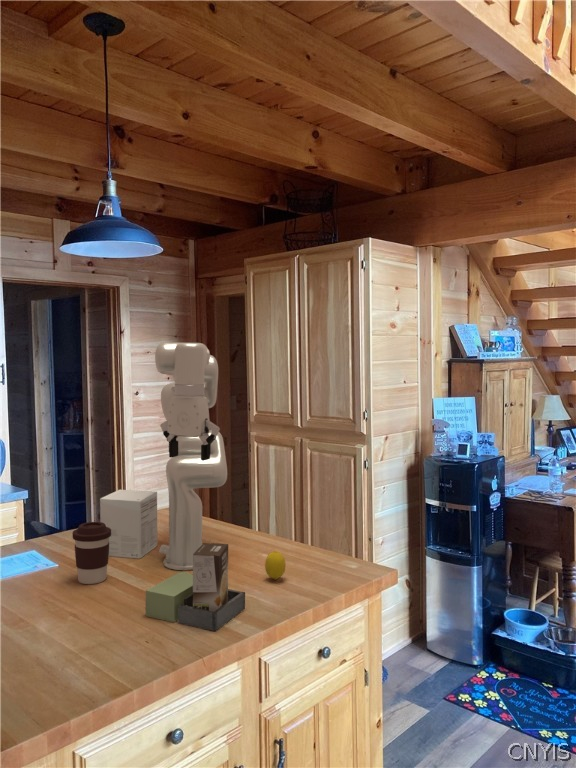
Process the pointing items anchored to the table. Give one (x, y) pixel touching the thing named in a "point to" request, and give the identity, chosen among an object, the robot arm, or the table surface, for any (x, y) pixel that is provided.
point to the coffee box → (210, 576)
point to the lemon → (275, 565)
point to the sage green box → (170, 596)
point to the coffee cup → (91, 551)
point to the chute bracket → (213, 613)
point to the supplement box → (130, 522)
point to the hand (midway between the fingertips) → (189, 458)
